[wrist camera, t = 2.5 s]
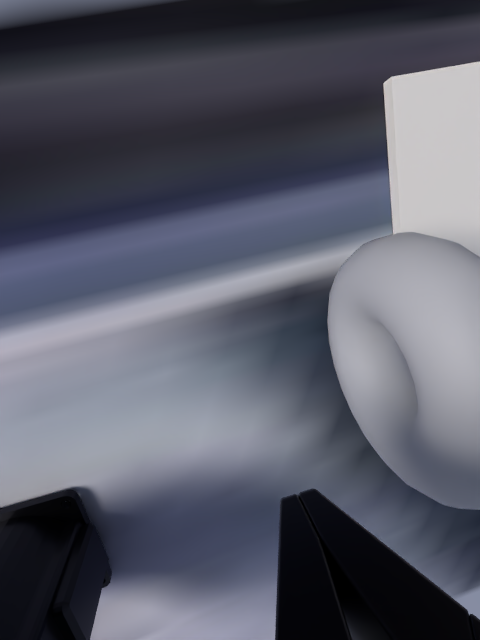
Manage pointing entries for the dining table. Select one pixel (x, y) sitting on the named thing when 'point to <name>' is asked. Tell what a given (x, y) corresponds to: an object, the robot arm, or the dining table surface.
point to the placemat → (435, 153)
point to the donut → (413, 359)
